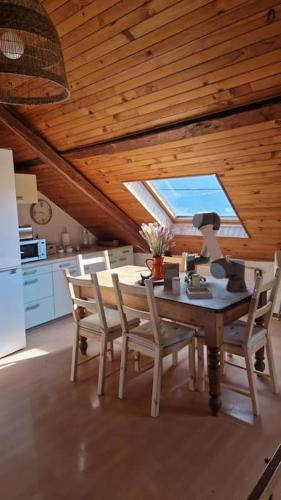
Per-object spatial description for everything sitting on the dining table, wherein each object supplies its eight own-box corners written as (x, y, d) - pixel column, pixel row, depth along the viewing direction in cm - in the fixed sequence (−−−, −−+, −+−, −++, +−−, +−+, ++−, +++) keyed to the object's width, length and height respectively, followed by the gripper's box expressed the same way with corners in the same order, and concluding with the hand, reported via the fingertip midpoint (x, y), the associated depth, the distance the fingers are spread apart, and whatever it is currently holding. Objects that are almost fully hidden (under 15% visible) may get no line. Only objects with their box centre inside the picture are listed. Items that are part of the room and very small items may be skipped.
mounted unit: (163, 288, 272) (163, 263, 269) (179, 287, 272) (178, 262, 269) (164, 290, 264) (163, 265, 261) (180, 290, 264) (179, 264, 261)
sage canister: (201, 289, 265) (200, 274, 263) (198, 291, 260) (198, 275, 258) (193, 288, 268) (193, 273, 266) (190, 290, 263) (190, 275, 261)
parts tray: (186, 292, 259) (186, 287, 258) (207, 291, 259) (207, 287, 258) (189, 298, 243) (189, 293, 242) (212, 297, 243) (212, 292, 242)
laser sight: (145, 290, 269) (145, 277, 268) (138, 283, 291) (138, 271, 289) (157, 288, 272) (157, 276, 270) (150, 282, 293) (149, 270, 292)
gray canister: (181, 293, 255) (181, 277, 253) (178, 295, 250) (178, 279, 248) (174, 292, 258) (174, 277, 256) (171, 294, 253) (171, 278, 251)
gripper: (206, 280, 281) (211, 287, 259) (179, 280, 281) (182, 287, 259) (206, 270, 280) (211, 277, 257) (178, 271, 280) (182, 278, 258)
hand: (196, 282), depth 258 cm, fingers open, 9 cm apart
